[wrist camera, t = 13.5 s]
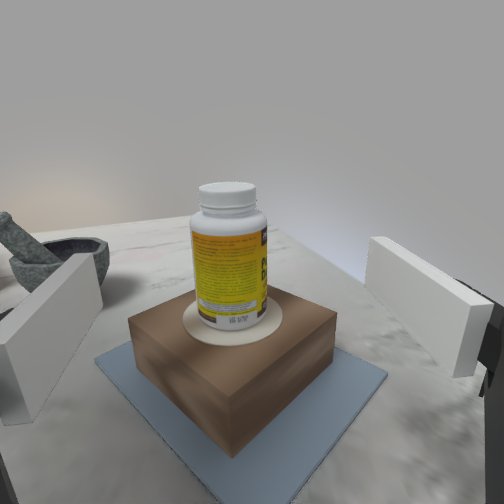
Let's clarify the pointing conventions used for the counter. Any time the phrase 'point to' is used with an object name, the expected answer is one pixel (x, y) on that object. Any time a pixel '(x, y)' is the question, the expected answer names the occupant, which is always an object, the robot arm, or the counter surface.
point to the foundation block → (233, 362)
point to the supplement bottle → (229, 256)
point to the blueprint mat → (268, 440)
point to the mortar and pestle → (46, 253)
